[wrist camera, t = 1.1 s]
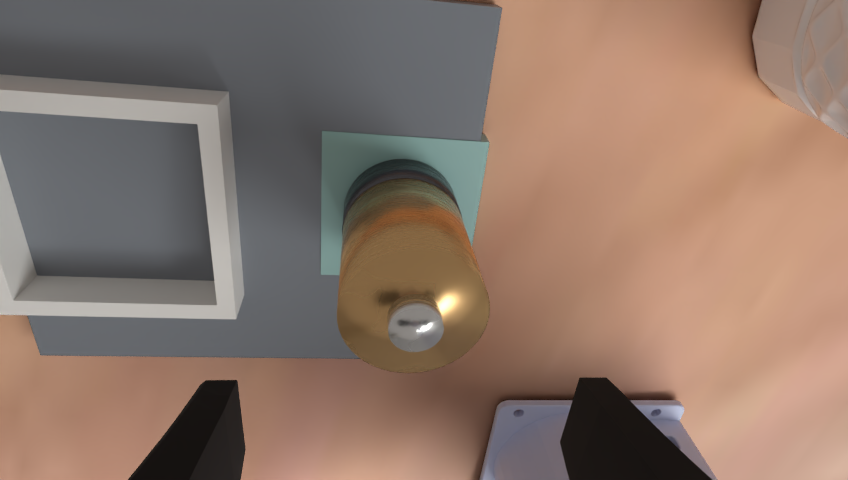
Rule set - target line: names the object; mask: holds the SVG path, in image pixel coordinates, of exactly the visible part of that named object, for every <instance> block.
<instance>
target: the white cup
mask: <svg viewBox="0 0 848 480" xmlns="http://www.w3.org/2000/svg"><path fill="white" fill-rule="evenodd" d="M752 39H753V46H754V52H755V58H756V64H757V71H758V76H759V78H760V79H761V80H762V81H763V82H764V83H765V84H766V85H767V87H768V88H769V89H770V90H771V91H772V92H773V93H774V94H775V95H776V96H777V97H778V98H779V99H780V101H781V102H783V103H784V104H786V105H788V106H790V107H792V108H794V109H796V110H798V111H800V112H803V113H805V114H807V115H809V116H811V117H813V118H815V119H817V120H819V121H822V122H823V123H825V124H826V125H827V126H829V127H830V128H832V129H833V130H835V131H836V132H838V133H839V134H841V135H843V136H844V137H846V138H848V0H762V2H761V6H760V9H759V13H758V16H757V20H756V24H755V27H754V31H753V35H752Z"/></svg>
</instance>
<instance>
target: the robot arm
mask: <svg viewBox="0 0 848 480" xmlns="http://www.w3.org/2000/svg"><path fill="white" fill-rule="evenodd" d="M519 409H520V410H519ZM516 410H518V411H516ZM683 412H684V407H683V406H682V404H681V403H680V402H679V401H676V400H629V399H628V398H627V397H626V396H625V395H624V394H623V393H622V392H621V391H620V390H619V389H618V388H617V387H616V386H615V385H614V384H612V383H611V382H610V381H609V380H608V379H607V378H579V382H578V385H577V388H576V391H575V395H574V398H573V400H506V401H503V402H501V403H500V404H499V405H498V406H497V409H496V413H495V417H494V421H493V426H492V430H491V434H490V438H489V442H488V447H487V451H486V455H485V459H484V463H483V468H482V472H481V476H480V480H717V478H716V477H715V475H714V474H713V472H712V470H711V469H710V467H709V466H708V464H707V463H706V461H705V460H704V458H703V456H702V455H701V453H700V452H699V450H698V449H697V447H696V446H695V444H694V443H693V441H692V439H691V438H690V436H689V435H688V433H687V432H686V430H685V429H684V427H683V425H682V424H681V422H680V419H681V417H682V414H683ZM244 455H245V442H244V433H243V425H242V417H241V408H240V400H239V391H238V383H237V380H206V381H204V382H203V383H202V384H201V385H200V386H199V388H198V389H197V390H196V392H195V393H194V395H193V396H192V398H191V399H190V400H189V402H188V403H187V405H186V406H185V407H184V409H183V410H182V412H181V413H180V414H179V416H178V417H177V418H176V420H175V421H174V422H173V424H172V425H171V426H170V428H169V429H168V430H167V432H166V433H165V434H164V436H163V437H162V438H161V439H160V441H159V442H158V443H157V444H156V446H155V447H154V448H153V449H152V451H151V452H150V453H149V454H148V456H147V457H146V458H145V459H144V461H143V462H142V463H141V464H140V466H139V467H138V468H137V469H136V471H135V472H134V473H133V474H132V475H131V477H130V478H129V479H128V480H240V479H241V473H242V467H243V461H244Z"/></svg>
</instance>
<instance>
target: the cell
mask: <svg viewBox="0 0 848 480" xmlns="http://www.w3.org/2000/svg"><path fill="white" fill-rule="evenodd" d="M489 311H490V305H489V298H488V293H487V290H486V287H485V284H484V281H483V278H482V276H481V273H480V270H479V267H478V264H477V261H476V258H475V255H474V252H473V249H472V246H471V243H470V240H469V237H468V234H467V232H466V229H465V226H464V223H463V219H462V215H461V212H460V209H459V206H458V203H457V200H456V197H455V195H454V192H453V189H452V187H451V186H450V184H449V182H448V181H447V180H446V178H445V177H444V176H443V175H442V174H441V173H440V172H439V171H437V170H436V169H435V168H433V167H431V166H429V165H428V164H425V163H422V162H420V161H416V160H410V159H393V160H388V161H384V162H381V163H378V164H375V165H374V166H372V167H370V168H368V169H367V170H365V171H364V172H363V173H362V174H360V175H359V176H358V177H357V178H356V180H355V181H354V182H353V183H352V185H351V187H350V188H349V190H348V193H347V195H346V198H345V202H344V212H343V226H342V248H341V262H340V276H339V290H338V304H337V324H338V328H339V332H340V334H341V336H342V338H343V340H344V342H345V343H346V345H347V346H348V347H349V349H350V350H351V351H352V352H353V353H354V354H355V355H356V356H358V357H359V358H360V359H362V360H363V361H365V362H367V363H369V364H371V365H372V366H375V367H378V368H380V369H384V370H388V371H393V372H400V373H417V372H424V371H429V370H433V369H437V368H440V367H443V366H445V365H447V364H449V363H452V362H453V361H455V360H457V359H458V358H460V357H461V356H463V355H464V354H465V353H467V352H468V351H469V350H470V349H471V348H472V347H473V346H474V345H475V344H476V342H477V341H478V340H479V339H480V337H481V335H482V334H483V332H484V330H485V328H486V325H487V322H488V318H489Z"/></svg>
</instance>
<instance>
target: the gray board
mask: <svg viewBox="0 0 848 480" xmlns="http://www.w3.org/2000/svg"><path fill="white" fill-rule="evenodd" d="M501 12H502V8H501V7H500V6H498V5H494V4H484V3H475V2H465V1H455V0H0V315H27V316H28V319H29V322H30V325H31V328H32V331H33V334H34V337H35V340H36V343H37V346H38V349H39V352H40V355H58V356H152V357H245V358H338V359H360V358H359V357H358V356H356V355H355V354H354V353H353V352H352V351H351V350H350V349H349V347H348V346H347V345H346V343H345V342H344V340H343V338H342V336H341V334H340V332H339V328H338V324H337V304H338V290H339V276H340V262H341V248H342V226H343V212H344V202H345V198H346V195H347V193H348V190H349V188H350V187H351V185H352V183H353V182H354V181H355V180H356V178H357V177H358V176H359V175H360V174H362V173H363V172H364V171H365V170H367V169H368V168H370V167H372V166H374V165H375V164H378V163H381V162H384V161H388V160H393V159H410V160H416V161H420V162H422V163H425V164H428V165H429V166H431V167H433V168H435V169H436V170H437V171H439V172H440V173H441V174H442V175H443V176H444V177H445V178H446V180H447V181H448V182H449V184H450V186H451V187H452V189H453V192H454V195H455V197H456V200H457V203H458V206H459V209H460V212H461V215H462V219H463V223H464V226H465V229H466V232H467V234H468V237H469V240H470V243H471V246H472V242H473V236H474V231H475V225H476V219H477V213H478V207H479V201H480V195H481V189H482V183H483V178H484V172H485V166H486V160H487V154H488V148H489V141H488V139H487V137H486V136H485V134H482V130H483V124H484V118H485V111H486V105H487V99H488V93H489V87H490V80H491V74H492V68H493V62H494V56H495V49H496V43H497V37H498V31H499V25H500V18H501Z"/></svg>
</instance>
